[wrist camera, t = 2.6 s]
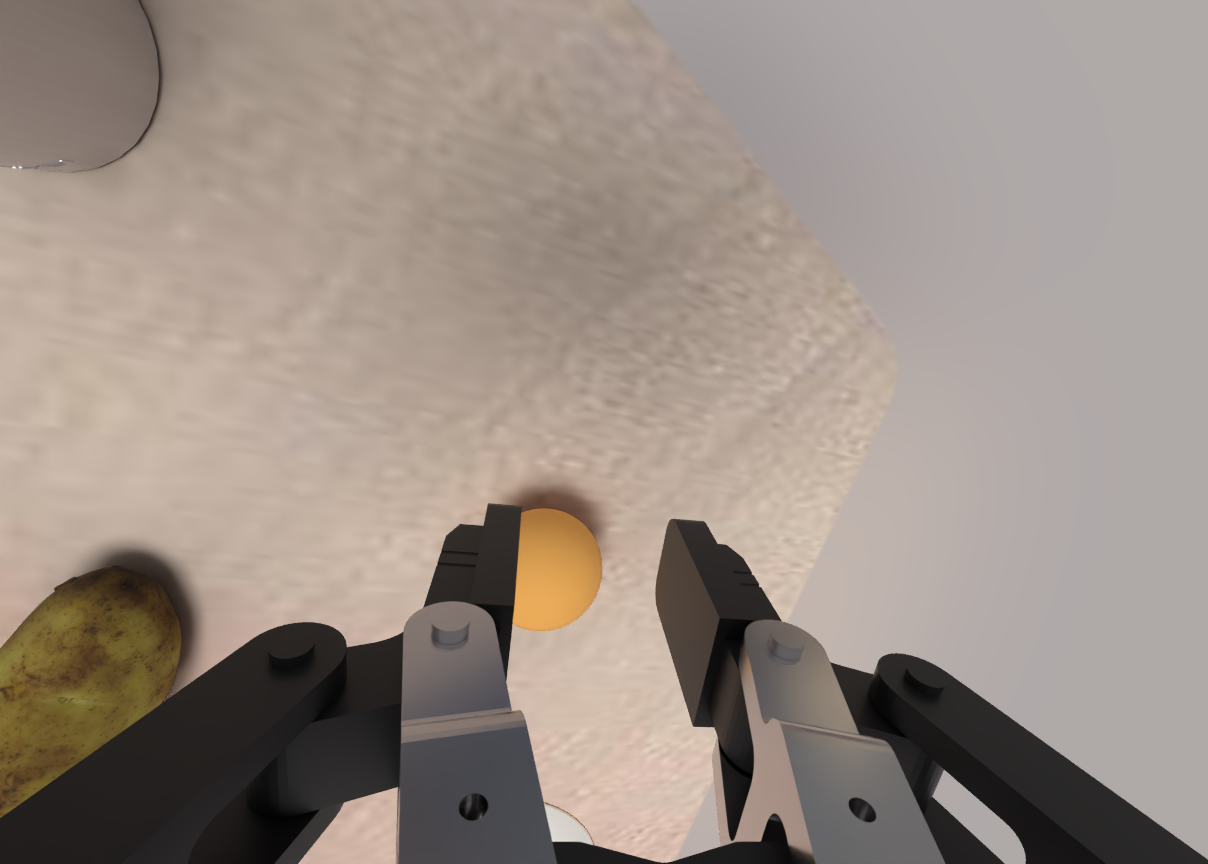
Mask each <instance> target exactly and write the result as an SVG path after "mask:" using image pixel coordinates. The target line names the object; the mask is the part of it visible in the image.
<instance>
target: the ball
mask: <svg viewBox="0 0 1208 864" xmlns="http://www.w3.org/2000/svg"><path fill="white" fill-rule="evenodd" d="M601 578H602V558H601V554H600V550H599V547H598V545H597V542H596V540H595V538H594V537H593V535H592V533H591V532H590V531H589V530H588V528H587V527H586V526H585V525H584V524H583V523H582V522H580V521H579V520H578V519H576V518H575V517H573V516H572V515H570V514H568V513H565V512H563V511H559V510H555V509H546V508H540V509H533V510H528V511H525V512H522V513H521V525H520V538H519V552H518V565H517V578H516V592H515V605H514V615H513V624H514V625H516V626H518V627H520V628H523V629H526V630H531V631H550V630H555V629H558V628H561V627H564V626H566V625H568V624H570V623H571V622H573V621H575V620H576V619H578V618H579V617H580V616H581V615H582V614H583V613H584V612H585V611H586V610H587V609H588V608H589V606H590V605H591V604H592V602H593V600H594V599H595V597H596V594H597V592H598V590H599V587H600V583H601Z"/></svg>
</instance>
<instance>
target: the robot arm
mask: <svg viewBox="0 0 1208 864" xmlns="http://www.w3.org/2000/svg"><path fill="white" fill-rule="evenodd" d="M158 84H159V69H158V60H157V50H156V46H155V43H154V39H153V36H152V32H151V29H150V26H149V22H148V19H147V17H146V15H145V13H144V11H143V9H142V7H141V5H140V3H139V1H138V0H0V166H1V167H10V168H18V169H35V170H43V171H58V172H78V171H83V170H89V169H95V168H98V167H101V166H103V165H105V164H107V163H109V162H112V161H114V160H116V159H118V158H119V157H121V156H122V155H123V154H124V153H125V152H127V151H128V150H129V149H130V148H132V147H133V146H134V145H135V144H136V143H137V141H138V140H139V138H140V137H141V135H142V134H143V133H144V131H145V130H146V128H147V127H148V125H149V122H150V120H151V117H152V114H153V111H154V108H155V106H156V103H157V94H158ZM521 511H522V506H514V505H502V504H490V503H488V507H487V512H486V517H485V522H484V526H478V525H465V524H460V525H459V526H457V527H456V528H455V529H454V530H453V531H451V532H450V533H449V534H448V535H447V536H446V538H445V541H444V544H443V547H442V551H441V554H440V557H439V560H438V564H437V566H436V569H435V573H434V576H433V579H432V582H431V585H430V588H429V592H428V595H427V598H426V601H425V604H424V607H423V608H422V609H420V610H418V611H417V612H415V613H414V614H413V615H412V616H411V617H410V618H409V619H408V621H407V622H406V624H405V626H404V632H402V633H401V634H399V635H397V636H394V637H392V638H390V639H386V640H383V641H379V642H375V643H370V644H364V645H358V646H352V647H347V645H346V640H345V638H344V636H343V635H342V634H341V633H340V632H339V631H338V630H336V629H335V628H333V627H331V626H328V625H325V624H321V623H313V622H302V623H293V624H287V625H283V626H279V627H276V628H273V629H271V630H268V631H266V632H264V633H262V634H260V635H258V636H257V637H255V638H253V639H252V640H250V641H249V642H248V643H246V644H245V645H243V646H242V647H240V648H239V649H238V650H236V651H235V652H233V653H232V654H231V655H229V656H228V657H226V658H225V659H224V660H222V661H221V662H219V663H218V664H217V665H215V666H214V667H212V668H211V669H210V670H208V671H207V672H205V673H204V674H202V675H201V676H200V677H198V678H197V679H195V680H194V681H193V682H191V683H190V684H188V685H187V686H186V687H184V688H183V689H181V690H180V691H179V692H177V693H176V694H174V695H173V696H172V697H170V698H169V699H167V700H166V701H164V702H163V703H162V704H160V705H159V706H157V707H156V708H155V709H153V710H152V711H150V712H149V713H148V714H146V715H145V716H143V717H142V718H141V719H139V720H138V721H136V722H135V723H133V724H132V725H131V726H129V727H128V728H126V729H125V730H124V731H122V732H121V733H119V734H118V735H117V736H115V737H114V738H112V739H111V740H110V741H108V742H107V743H105V744H104V745H103V746H101V747H100V748H98V749H97V750H95V751H94V752H93V753H91V754H90V755H88V756H87V757H86V758H84V759H83V760H81V761H80V762H79V763H77V764H76V765H74V766H73V767H72V768H70V769H69V770H67V771H66V772H64V773H63V774H62V775H60V776H59V777H57V778H56V779H55V780H53V781H52V782H50V783H49V784H48V785H46V786H45V787H43V788H42V789H41V790H39V791H38V792H36V793H35V794H34V795H32V796H31V797H29V798H28V799H26V800H25V801H24V802H22V803H21V804H19V805H18V806H17V807H15V808H14V809H12V810H11V811H10V812H8V813H7V814H5V815H4V816H3V817H1V818H0V864H298V863H299V862H300V860H301V859H302V858H303V857H304V855H305V854H306V853H307V852H308V850H309V849H310V848H311V847H312V845H313V844H314V843H315V842H316V840H317V839H318V838H319V837H320V836H321V834H322V833H323V832H324V831H325V829H326V828H327V827H328V826H329V824H330V823H331V822H332V821H333V819H334V818H335V817H336V815H337V814H338V812H339V811H340V809H341V807H342V805H343V803H344V802H347V801H350V800H354V799H357V798H361V797H364V796H368V795H371V794H375V793H378V792H382V791H385V790H389V789H392V788H396V787H398V798H397V834H396V864H1004V863H1003V862H1002V861H1001V860H1000V859H999V858H998V857H997V856H996V855H995V854H994V853H992V852H991V851H990V850H989V849H988V848H987V847H986V846H985V845H984V844H983V843H982V842H981V841H979V840H978V839H977V838H976V837H975V836H974V835H973V834H972V833H971V832H970V831H969V830H968V829H966V828H965V827H964V826H963V825H962V824H961V823H960V822H959V821H958V820H957V819H956V818H955V817H954V816H953V815H951V814H950V813H949V812H948V811H947V810H946V809H945V808H944V807H943V806H942V805H941V804H939V803H938V802H937V801H936V800H935V799H934V798H933V797H932V796H933V794H934V791H935V789H936V787H937V785H938V782H939V780H940V778H941V775H942V773H943V771H944V770H945V771H947V772H948V773H949V774H950V775H951V776H952V777H954V778H955V779H956V780H957V781H958V782H959V783H960V784H962V785H963V786H964V787H965V788H966V789H967V790H968V791H970V792H971V793H972V794H973V795H974V796H976V797H977V798H978V799H979V800H980V801H981V802H982V803H984V804H985V805H986V806H987V807H988V808H989V809H990V810H992V811H993V812H994V813H995V814H996V815H997V816H999V817H1000V818H1001V819H1002V820H1003V821H1004V822H1005V823H1006V824H1007V825H1009V826H1010V827H1011V829H1012V830H1013V831H1014V832H1015V833H1016V835H1017V836H1018V838H1019V839H1020V841H1021V843H1022V846H1023V848H1024V851H1025V854H1026V864H1208V860H1207V859H1206V858H1205V857H1203V856H1202V855H1201V854H1199V853H1198V852H1196V851H1195V850H1193V849H1192V848H1191V847H1189V846H1188V845H1187V844H1185V843H1184V842H1182V841H1181V840H1180V839H1178V838H1177V837H1175V836H1174V835H1173V834H1171V833H1170V832H1168V831H1167V830H1166V829H1164V828H1163V827H1162V826H1160V825H1159V824H1157V823H1156V822H1154V821H1153V820H1152V819H1150V818H1149V817H1148V816H1146V815H1145V814H1143V813H1142V812H1141V811H1139V810H1138V809H1136V808H1135V807H1133V806H1132V805H1131V804H1129V803H1128V802H1127V801H1125V800H1124V799H1122V798H1121V797H1120V796H1118V795H1117V794H1115V793H1114V792H1113V791H1111V790H1110V789H1108V788H1107V787H1106V786H1104V785H1103V784H1102V783H1100V782H1099V781H1097V780H1096V779H1095V778H1093V777H1092V776H1090V775H1089V774H1088V773H1086V772H1085V771H1084V770H1082V769H1081V768H1079V767H1078V766H1076V765H1075V764H1074V763H1072V762H1071V761H1070V760H1068V759H1067V758H1065V757H1064V756H1063V755H1061V754H1060V753H1058V752H1057V751H1055V750H1054V749H1053V748H1051V747H1050V746H1048V745H1047V744H1046V743H1044V742H1043V741H1042V740H1040V739H1039V738H1038V737H1036V736H1035V735H1033V734H1032V733H1031V732H1029V731H1027V730H1026V729H1025V728H1024V727H1022V726H1021V725H1019V724H1018V723H1017V722H1015V721H1014V720H1012V719H1011V718H1010V717H1008V716H1007V715H1006V714H1004V713H1003V712H1001V711H1000V710H998V709H997V708H996V707H994V706H993V705H991V704H990V703H989V702H987V701H986V700H985V699H983V698H982V697H980V696H979V695H978V694H976V693H974V692H973V691H972V690H971V689H969V688H968V687H967V686H965V685H964V684H962V683H961V682H959V681H958V680H957V679H955V678H954V677H953V676H951V675H949V674H948V673H947V672H945V671H944V670H942V669H941V668H939V667H937V666H936V665H934V664H932V663H930V662H927V661H925V660H923V659H920V658H918V657H914V656H911V655H906V654H897V653H895V654H888V655H885V656H883V657H881V659H879V661H878V664H877V667H876V669H875V672H874V675H873V674H870V673H866V672H862V671H859V670H855V669H851V668H847V667H844V666H840V665H837V664H834V663H831V662H830V661H829V659H828V656H827V654H826V652H825V650H824V648H823V647H822V645H821V644H820V643H819V642H818V641H817V640H816V639H815V638H814V637H813V636H811V635H810V634H809V633H807V632H806V631H804V630H802V629H800V628H799V627H796V626H794V625H792V624H789V623H786V622H782V621H781V619H780V617H779V616H778V614H777V613H776V611H775V609H774V608H773V606H772V604H771V603H770V601H769V600H768V598H767V596H766V595H765V593H764V591H763V590H762V588H761V587H759V583H758V582H757V580H756V578H755V577H754V575H752V572H751V570H750V569H749V567H748V565H747V564H746V562H745V561H744V559H743V558H742V557H741V556H740V555H739V554H737V553H736V552H735V551H734V550H732V549H731V548H730V547H729V546H727V545H723V544H717V542H716V540H715V539H714V537H713V535H712V533H711V532H710V530H709V528H708V526H707V524H706V523H705V522H704V521H694V520H681V519H671V520H670V521H669V523H668V526H667V530H666V534H665V539H664V545H663V550H662V555H661V560H660V565H659V570H658V575H657V580H656V606H657V610H658V613H659V617H660V620H661V623H662V626H663V630H664V633H665V636H666V639H667V643H668V646H669V649H670V653H671V656H672V659H673V662H674V666H675V669H676V672H677V676H678V679H679V682H680V685H681V689H682V692H683V695H684V699H685V702H686V705H687V708H688V712H689V715H690V718H691V722H692V725H693V727H715V730H716V733H717V739H716V743H715V747H714V751H713V755H712V764H713V774H714V784H715V795H716V805H717V815H718V825H719V836H720V847H718V848H715V849H711V850H708V851H705V852H702V853H699V854H695V855H692V856H689V857H686V858H683V859H679V860H676V861H673V862H668V863H660V862H655V861H651V860H647V859H643V858H640V857H636V856H632V855H628V854H625V853H621V852H617V851H613V850H609V849H606V848H602V847H598V846H594V845H591V844H587V843H583V842H552V838H551V833H550V829H549V824H548V820H547V815H546V811H545V806H544V802H543V797H542V792H541V788H540V783H539V779H538V774H537V770H536V765H535V761H534V756H533V751H532V747H531V742H530V738H529V733H528V729H527V724H526V720H525V717H524V715H523V713H522V711H521V710H517V711H512V709H511V704H510V699H509V694H508V689H507V684H506V679H507V669H508V660H509V651H510V642H511V633H512V624H513V615H514V605H515V592H516V578H517V565H518V552H519V538H520V525H521Z"/></svg>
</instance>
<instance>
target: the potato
mask: <svg viewBox="0 0 1208 864" xmlns="http://www.w3.org/2000/svg"><path fill="white" fill-rule="evenodd" d="M54 590H55V592H53V593H52V594H51V595H50V596H49V597H47V598H46V599H45V600H44V601H43V602H42V603H41V604H40V605H39V606H38V607H37V608H36V609H35V610H34V611H33V612H32V613H31V614H30V615H29V616H28V617H27V618H26V619H25V620H24V622H23V623H22V624H21V625H20V626H19V628H18V629H17V630H16V631H15V632H14V633H13V634H12V636H11V637H10V638H9V639H8V640H7V641H6V643H5V644H4V645H3V646H2V647H1V648H0V818H1V817H3V816H4V815H5V814H7V813H8V812H10V811H11V810H12V809H14V808H15V807H17V806H18V805H19V804H21V803H22V802H24V801H25V800H26V799H28V798H29V797H31V796H32V795H34V794H35V793H36V792H38V791H39V790H41V789H42V788H43V787H45V786H46V785H48V784H49V783H50V782H52V781H53V780H55V779H56V778H57V777H59V776H60V775H62V774H63V773H64V772H66V771H67V770H69V769H70V768H72V767H73V766H74V765H76V764H77V763H79V762H80V761H81V760H83V759H84V758H86V757H87V756H88V755H90V754H91V753H93V752H94V751H95V750H97V749H98V748H100V747H101V746H103V745H104V744H105V743H107V742H108V741H110V740H111V739H112V738H114V737H115V736H117V735H118V734H119V733H121V732H122V731H124V730H125V729H126V728H128V727H129V726H131V725H132V724H133V723H135V722H136V721H138V720H139V719H141V718H142V717H143V716H145V715H146V714H148V713H149V712H150V711H152V710H153V709H155V708H156V707H157V706H159V705H160V704H162V703H163V701H164V699H165V697H166V695H167V694H168V692H169V690H170V688H171V686H172V685H173V682H174V678H175V674H176V670H177V666H178V662H179V658H180V651H181V629H180V624H179V620H178V617H177V615H176V613H175V610H174V608H173V606H172V604H171V602H170V600H169V598H168V596H167V594H166V592H165V591H164V589H163V588H162V586H161V585H160V584H159V583H158V582H156V581H155V580H154V579H152V578H150V577H148V576H146V575H144V574H142V573H140V572H138V571H135V570H133V569H130V568H126V567H121V566H112V567H108V568H103V569H100V570H96V571H92V572H89V573H87V574H84V575H82V576H79V577H73V578H71V579H69V580H68V581H66V582H65V583H63V584H61V585H59V586H57V587H55V588H54Z"/></svg>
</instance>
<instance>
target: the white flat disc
mask: <svg viewBox="0 0 1208 864" xmlns="http://www.w3.org/2000/svg"><path fill="white" fill-rule="evenodd" d="M544 806H545V811H546V815H547V820H548V824H549V829H550V833H551V838H552V842H583V843H587V844H591V845H593V841H592V839H591V837H590V835H589V833H588V832H587V831H586V829H585V828H584V827H583V826H582V825H581V824H580V823H579V822H578V821H577V820H576V819H575V818H574V817H572V816H571V815H570V814H568V813H566V812H564V811H563V810H561V809H559V808H556V807H554V806H551V805H549V804H546V803H544Z"/></svg>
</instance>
